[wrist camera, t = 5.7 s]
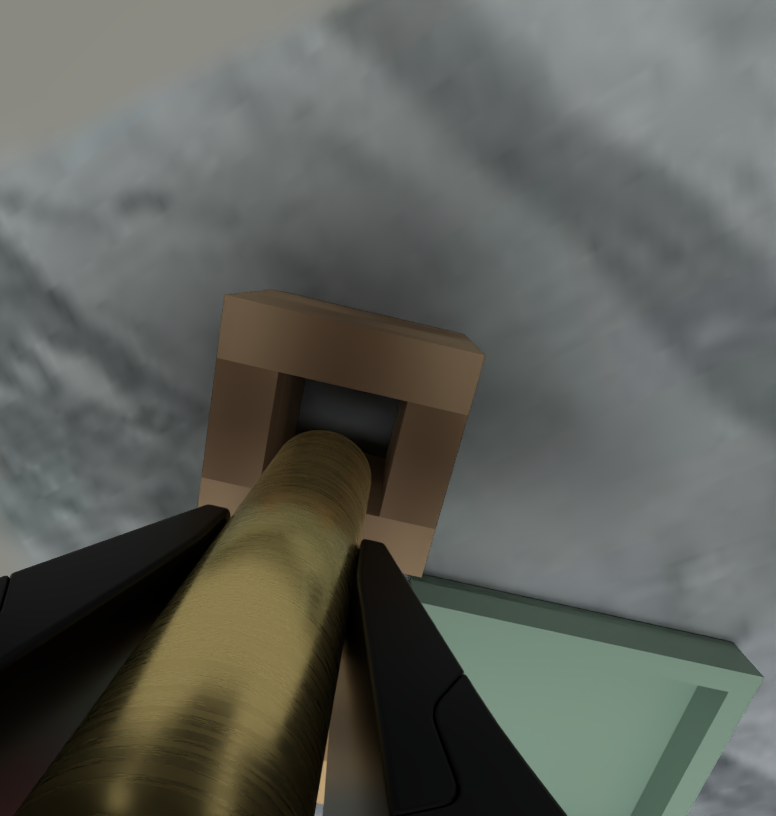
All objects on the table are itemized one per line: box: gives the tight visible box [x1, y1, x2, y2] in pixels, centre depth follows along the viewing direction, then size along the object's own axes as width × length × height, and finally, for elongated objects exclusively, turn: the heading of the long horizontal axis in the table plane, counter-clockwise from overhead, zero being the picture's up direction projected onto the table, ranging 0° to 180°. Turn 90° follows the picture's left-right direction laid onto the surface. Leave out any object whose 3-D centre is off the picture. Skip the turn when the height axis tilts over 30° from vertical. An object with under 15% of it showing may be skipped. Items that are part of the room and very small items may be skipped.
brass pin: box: [13, 430, 371, 816], centre depth 8 cm, size 2×2×8 cm
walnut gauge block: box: [198, 290, 486, 578], centre depth 15 cm, size 7×7×5 cm
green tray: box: [409, 575, 764, 816], centre depth 21 cm, size 14×13×2 cm
